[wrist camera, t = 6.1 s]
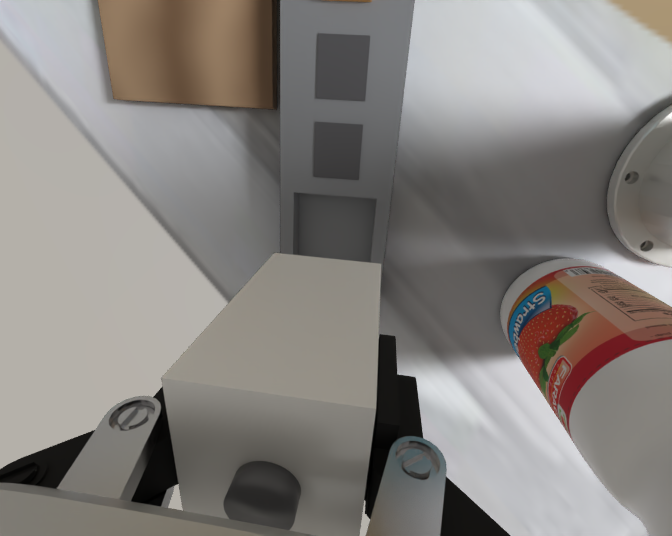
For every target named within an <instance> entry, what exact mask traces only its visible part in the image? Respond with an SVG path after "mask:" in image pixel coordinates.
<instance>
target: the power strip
mask: <svg viewBox="0 0 672 536" xmlns="http://www.w3.org/2000/svg"><path fill="white" fill-rule="evenodd" d="M414 2H415V0H280V253H281V254H291V255H301V256H311V257H320V258H330V259H340V260H350V261H360V262H369V263H379V264H381V281H382V272H383V264H384V256H385V247H386V239H387V230H388V222H389V213H390V205H391V196H392V188H393V179H394V171H395V163H396V154H397V146H398V137H399V129H400V120H401V112H402V103H403V95H404V86H405V78H406V69H407V61H408V53H409V44H410V36H411V27H412V19H413V10H414ZM380 289H381V287H380Z"/></svg>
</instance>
